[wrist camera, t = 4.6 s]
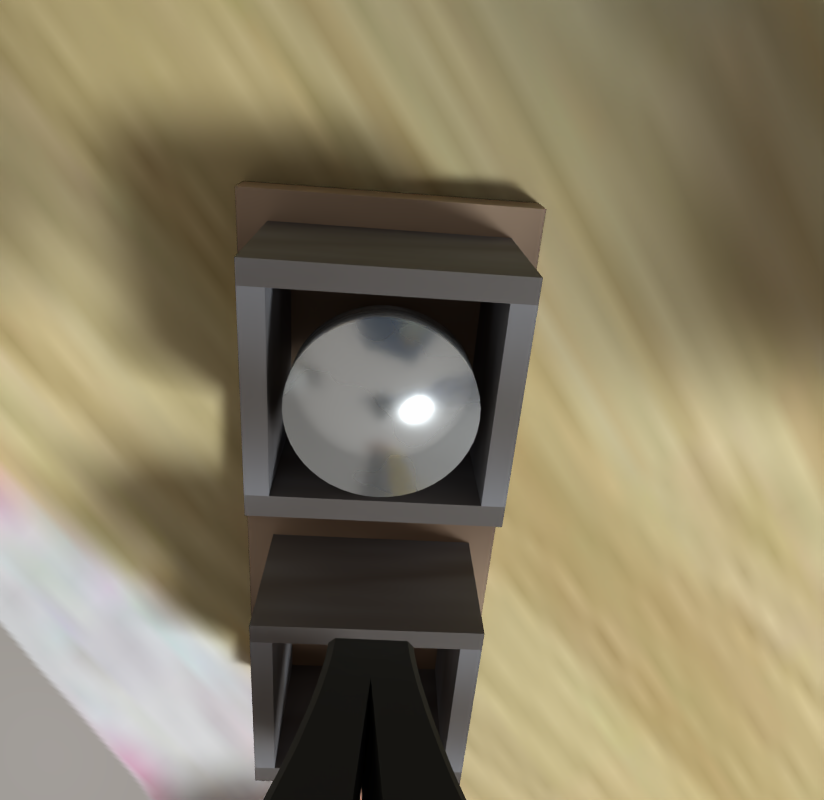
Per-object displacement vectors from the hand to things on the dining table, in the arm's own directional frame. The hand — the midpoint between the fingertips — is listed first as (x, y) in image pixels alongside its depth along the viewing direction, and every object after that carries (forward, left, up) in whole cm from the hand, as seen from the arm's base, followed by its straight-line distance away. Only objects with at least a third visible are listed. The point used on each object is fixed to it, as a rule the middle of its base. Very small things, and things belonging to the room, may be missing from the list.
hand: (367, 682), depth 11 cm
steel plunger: (+2, -2, -9) cm, 9 cm away
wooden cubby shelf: (-2, +2, -10) cm, 11 cm away
